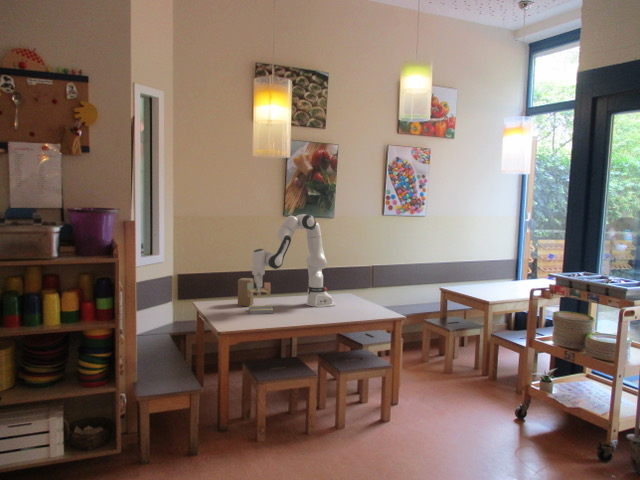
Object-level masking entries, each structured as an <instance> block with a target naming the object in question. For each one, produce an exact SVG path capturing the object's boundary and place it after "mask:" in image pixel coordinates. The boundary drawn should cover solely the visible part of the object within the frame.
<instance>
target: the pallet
mask: <svg viewBox="0 0 640 480" xmlns="http://www.w3.org/2000/svg"><path fill="white" fill-rule="evenodd" d="M247 291H248V297H252V292H253V293H256V296H257V297H259V298H260V297H262V293H265V296H266V297H271V291H272V289H271V288H270V289H264V287H261V288H260V292H258V288H256V287H254V289H247Z"/></svg>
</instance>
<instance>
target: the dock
mask: <svg viewBox="0 0 640 480" xmlns="http://www.w3.org/2000/svg"><path fill="white" fill-rule="evenodd" d="M248 311H249V314H250V315H258V314H259V315H260V314H261V315H263V314H265V315H266V314H274V309H273V307H272V305H271V304H268V305H251V306H248Z"/></svg>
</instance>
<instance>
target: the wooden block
mask: <svg viewBox="0 0 640 480" xmlns="http://www.w3.org/2000/svg"><path fill="white" fill-rule="evenodd" d="M247 283H255V281H254V277H253V278H252V277H241V278H239V279H238V280H237V306H238V307H249V306H253V304H254V292H252V297H248V291H247Z"/></svg>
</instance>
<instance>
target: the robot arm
mask: <svg viewBox="0 0 640 480" xmlns="http://www.w3.org/2000/svg"><path fill="white" fill-rule="evenodd" d="M298 229H300V230H305V232H306V241H307V249H308V251H309V254H308V255H307V256H306V259H305V263H306V266H307V272H308V286H307V300H306V304H305V305H307V306H310V307H315V308H323V307H335V306H336V302H335V301H334V300H333V297H332V296H331V295H330V294H329V293H328V292H327V290H328V288H327V287H325V286H324V274H323V270H324V269H325V268H326V267H327V266H328V261H327V259H326V255H325V251H324V246H323V239H322V231H321V226H320V223H318V221H317V222H316V219H315V217H314V216H313V215H312V214H305V213H303V214H296V215H289V216H287V217H286V218H285V219H284V221H283V222H282V223H281V225H280V227H279V228H278V229H277V238H278V239H279V240H280V244H279V246H278V248H277V250H276V252H275V253H271V252H268V251H266V250H265V249H264V248H258V249H255V250H253V252H252V258H251V259H252V261H251V262H252V265H251V266H252V267H251V268H252V269H251V270H252V271H251V275H253V280H254V283H255V286H256V287H255V288H258V292H260V288H263V276H264V275H265V274H266V273H265V272H266V267H269V268H272V269H275V270H277V269H280V268H281V267H282V266H283V263H284V260H285V255H286V254H287V252H288V249H289V247H290V246H291V242H292V238H293V235H294V234H295V232H296V231H297V230H298Z"/></svg>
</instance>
